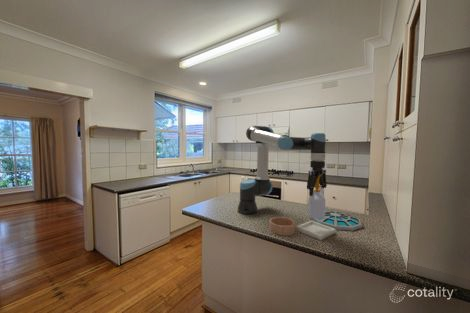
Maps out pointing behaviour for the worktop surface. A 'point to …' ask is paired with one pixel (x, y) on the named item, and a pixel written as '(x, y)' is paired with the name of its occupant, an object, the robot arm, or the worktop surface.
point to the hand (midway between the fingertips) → (316, 199)
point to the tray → (316, 230)
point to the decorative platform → (339, 221)
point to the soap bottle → (317, 203)
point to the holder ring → (286, 223)
